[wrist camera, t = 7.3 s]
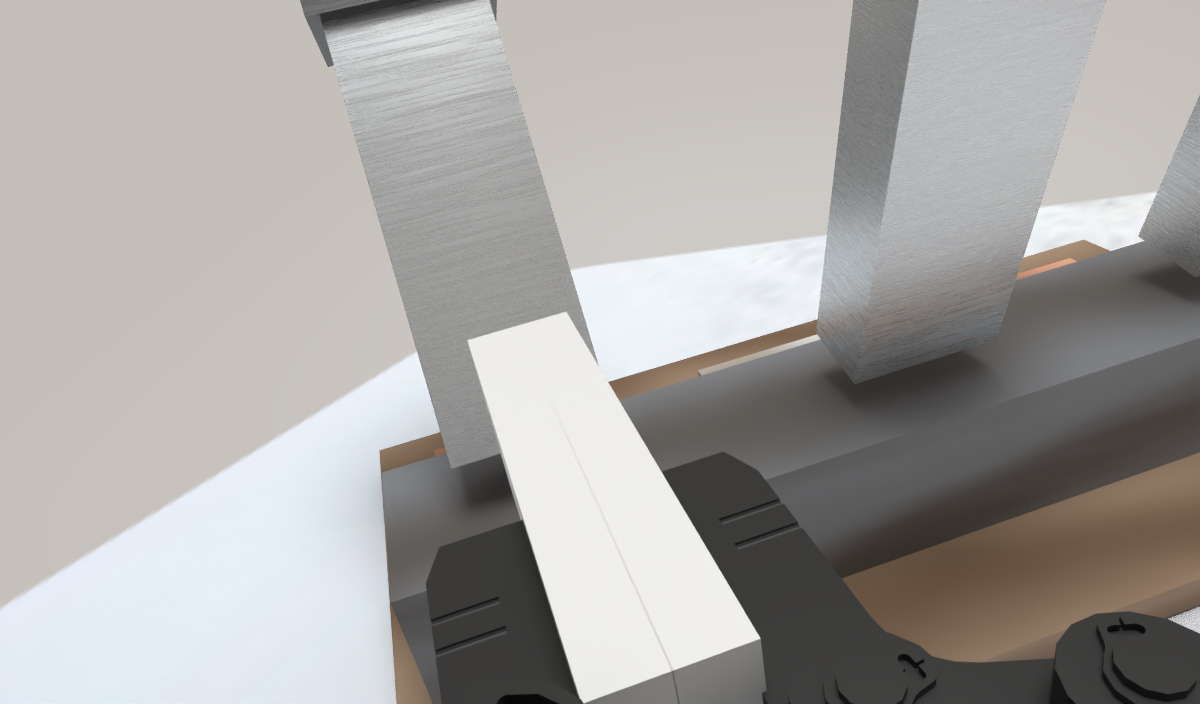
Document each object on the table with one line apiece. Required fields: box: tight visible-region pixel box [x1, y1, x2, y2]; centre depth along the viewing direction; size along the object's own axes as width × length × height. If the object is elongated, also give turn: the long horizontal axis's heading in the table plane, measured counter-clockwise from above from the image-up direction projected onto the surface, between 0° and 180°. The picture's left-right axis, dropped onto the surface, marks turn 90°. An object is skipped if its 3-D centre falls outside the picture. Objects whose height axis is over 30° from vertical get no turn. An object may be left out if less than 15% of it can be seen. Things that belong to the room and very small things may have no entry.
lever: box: [300, 0, 599, 469], centre depth 21 cm, size 3×5×14 cm
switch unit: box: [380, 240, 1200, 704], centre depth 25 cm, size 16×30×5 cm, turn 106°
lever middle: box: [816, 0, 1106, 384], centre depth 17 cm, size 3×5×14 cm, turn 106°
